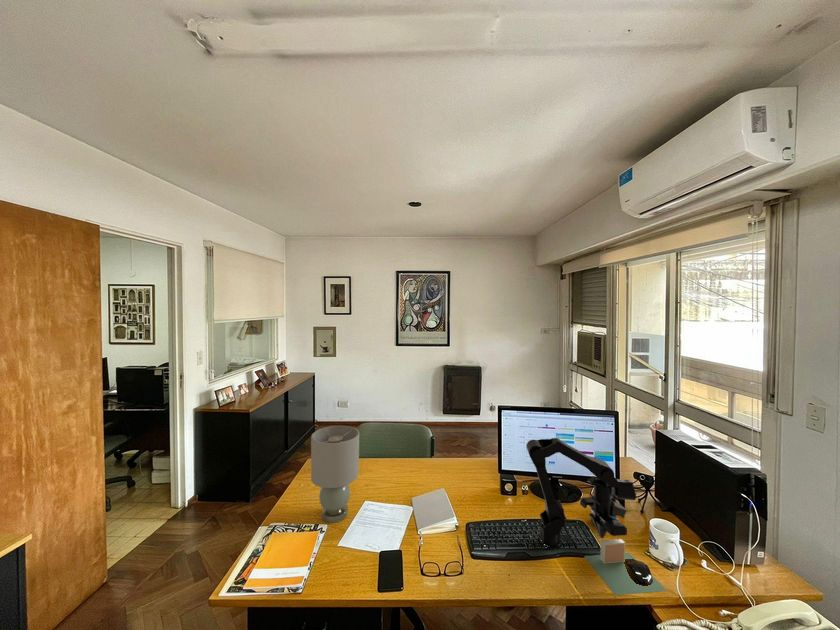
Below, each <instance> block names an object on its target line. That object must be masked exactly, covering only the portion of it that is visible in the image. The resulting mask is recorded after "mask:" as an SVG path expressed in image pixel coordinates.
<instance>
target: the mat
mask: <svg viewBox="0 0 840 630" xmlns="http://www.w3.org/2000/svg"><path fill="white" fill-rule="evenodd" d="M600 555H601V554H595V555H583V556H584V558H585V560H586V561H587V562H588V563H589V564H590V566H591V567H592V568H593V569H594V571H595V572H596V573H597V574H598V576H599V577H600V579H602V581H603V582H604V583H605V584H606V586H607V587H608V588H609V589H610V590H611V592H612V594H614V596H619V595H620V596H621V595H632V594H643V593H654V592H657V593H658V592H667V591H668V590H667V589H666V588H665V587H664V586H663V585H662V584H661V582H659V581H658V580H657V579H656V577H654V576H653V583H652V584H651V585H648V586H642V585H639V584H636V583H635V582H634V581H633V580H632V579H631V578H630V576H629V574H628V572H627V569H626V567H625V564H624V562H616V563H603V562H602V561H601V560H600ZM625 559H636V558H635V557H634V556H633V555H632V554H631V553H630V552H625Z"/></svg>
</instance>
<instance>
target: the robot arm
mask: <svg viewBox="0 0 840 630" xmlns="http://www.w3.org/2000/svg"><path fill="white" fill-rule="evenodd" d="M525 446H526V451H527V453H528V455H529V458H530V460H531V462H532V463H533V465H534V467H535V470H536V472H537V473H536V474H537V476H538V480H539V483H540V487H541V490H542V493H543V497H544V506H545V509H544V510H543V511H542V512H541V513H540V514H539V517H540V519H541V524H540V525H539V536H540V538H541V540H542V542H543V544H546V545H548V546H550V547H547V546H545V547H547V548H549V549H561V548H560V547H559V548H558V546H556V545H557V544H561V531H562V529H563V527H565V526H566V520H568V519H567V517H566V514H565V509H564V507H563V504H562V503H561V500H560V499H557V500H556V496H555V493H554V490H553V486H552V484H551V480H550V476H549V473H548V471H547V467H546V464H547V463H546V458H550V457H551V456H554V455H555V454H558V453H559V454H561V455H563V456H565V457H567V458H568V459H570V460H572V461H574V462H575V463H577V464H579V465H580V466H582V467H584V468H586V469H587V470H588V471H589V472H591V474H592V475H593V476H591V477H590V478H588V479H587V481H588V482H589V484H590V485H591V486H593V495H591V496H588V497H581V498H580V500H579V503H580V505H581V507H582V508H583V509H587V507H588V506H589V507H590V513H589V516H590V518H591V521H592V522H593V524H594V525H593V526H594V527H595V529H596V531H597V534H598V536H599V537H600V538H601V539H603V538H604V537H605V536H606V533H607V532H608V533H609V535H611V536H612V537H616V536H617V537H619V536H627V535H628V527H626V526H625V525H624V524H623V523H622V522H621V521H619V519H616V520H614V519H613V518H612V517H615V515H616V517H617V516H619V518H620V517H621V518H622V519H625V516H626V513H627V511H628V510H627V508H625V507H624V506H623V505H622V504H621V503H619V502H618V501H617V499H618V500H625V501H626V500H627V501H628V500H629V501H636V499H637V493H636V490H635V487H634V482H633V481H632V480H631V479H620V478H619V479H618V478H616V477H615V472H614V470H613V469H612V467H610V465H609V464H608V463H607V462H606V461H605V460H602V459H600V458H597V457H592V456H589V455H587V454H585V453H584V452H581V451H580V450H578V449H577V448H575V447H572V446H571V445H569V444H568V443H565V442H564V441H563V440H561V439H560V438H558V437H554V438H541V439H530V440H529V441H528V442H527V443H526V445H525ZM614 496H615V498H614ZM611 516H612V517H611Z"/></svg>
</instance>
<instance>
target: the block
mask: <svg viewBox="0 0 840 630" xmlns="http://www.w3.org/2000/svg"><path fill="white" fill-rule="evenodd" d="M625 553H626V542H625V541H624V540H623V539H622V538H618V539H617V538H616V539H601V540H600V554H599V555H600V560H601V561H602V562H603V563H616V562H625Z"/></svg>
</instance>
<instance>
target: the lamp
mask: <svg viewBox="0 0 840 630" xmlns="http://www.w3.org/2000/svg"><path fill="white" fill-rule="evenodd" d="M310 438H311V439H310V441H311V442H310V452H311V453H310V462H311V463H310V471H311V472H310V481H311V482H312V484H313V485H315V486H316V487H319V488H320V491H319V496H318V497H319V503H320V505H321V507H322V508H321V519H322V520H323V522H325V523H328V524H336V523H338V522H342V521H343V520H345V519H346V517H347V516H348V511H349V510H348V508H349V507H348V502H349V500H350V497H351V488H350V485H349V484H351V483H353V482H354V481H356V479H358V478H359V471H360V470H359V466H360V431H359V430H358V429H357V428H356V427H354V426H353V427H352V426H348V425H332V426H325V427H322V428H320V429H319V428H318V429H317V430H316V431H314V432H313V433H312V434H311V437H310Z"/></svg>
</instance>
